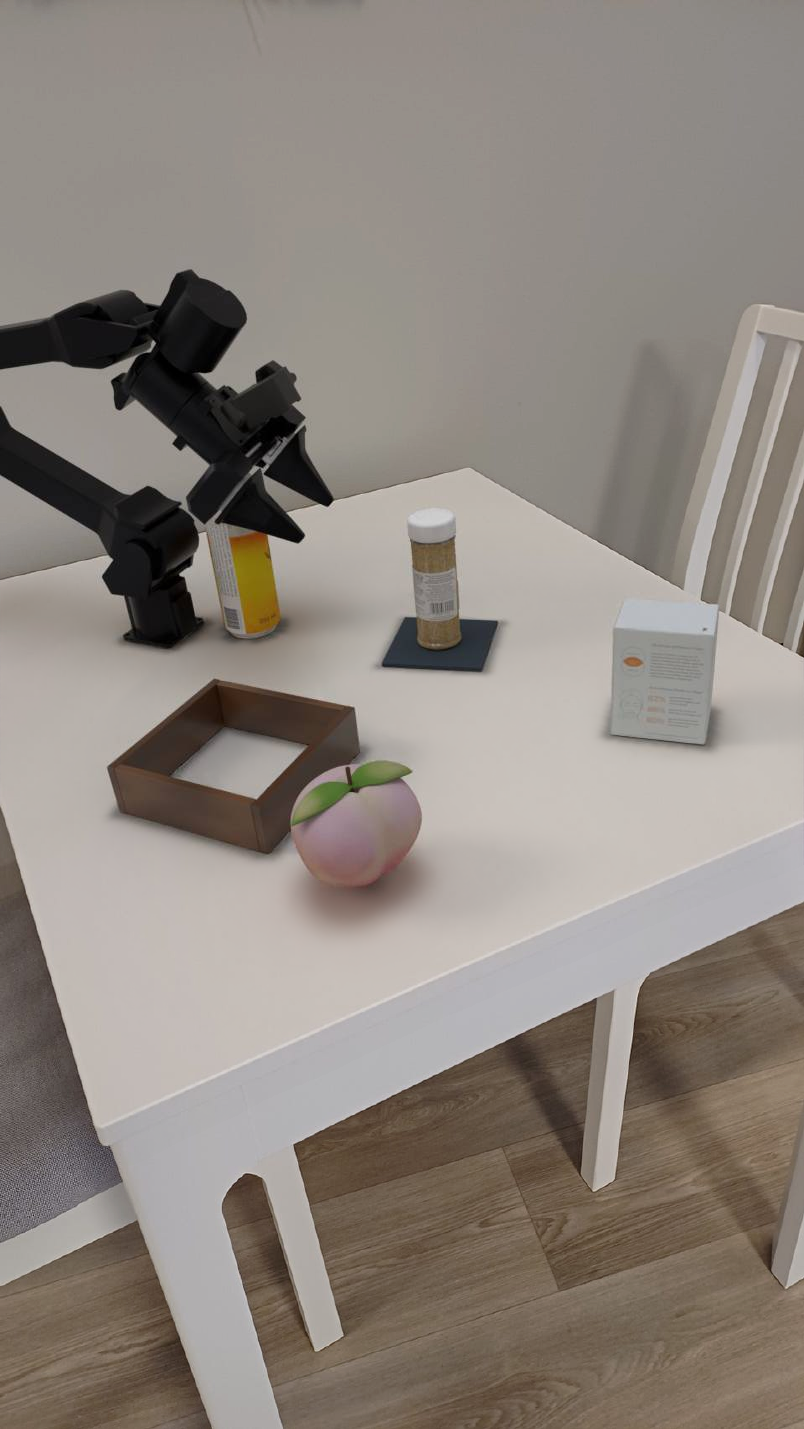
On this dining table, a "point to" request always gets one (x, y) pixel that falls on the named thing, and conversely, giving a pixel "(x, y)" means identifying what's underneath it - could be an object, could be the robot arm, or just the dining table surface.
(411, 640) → the slate mat
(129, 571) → the robot arm
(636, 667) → the small box
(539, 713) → the dining table surface
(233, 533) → the beer can
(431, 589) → the sprinkles bottle
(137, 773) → the walnut box
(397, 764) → the decorative fruit
